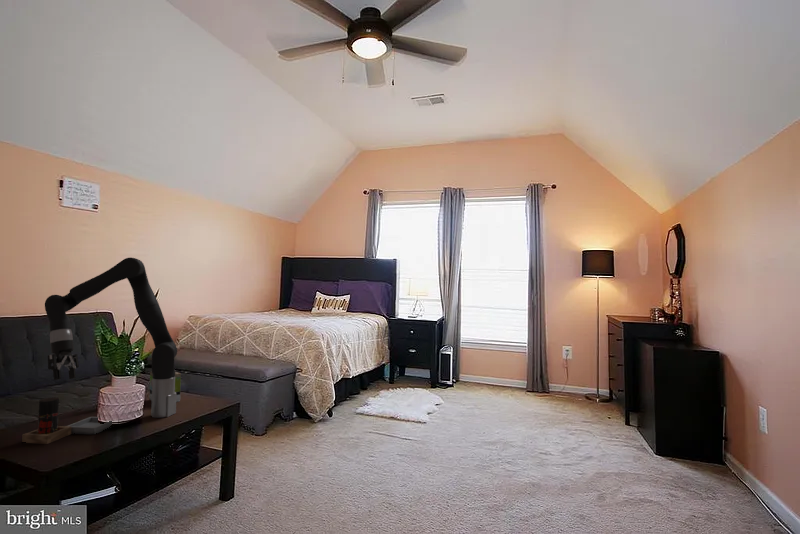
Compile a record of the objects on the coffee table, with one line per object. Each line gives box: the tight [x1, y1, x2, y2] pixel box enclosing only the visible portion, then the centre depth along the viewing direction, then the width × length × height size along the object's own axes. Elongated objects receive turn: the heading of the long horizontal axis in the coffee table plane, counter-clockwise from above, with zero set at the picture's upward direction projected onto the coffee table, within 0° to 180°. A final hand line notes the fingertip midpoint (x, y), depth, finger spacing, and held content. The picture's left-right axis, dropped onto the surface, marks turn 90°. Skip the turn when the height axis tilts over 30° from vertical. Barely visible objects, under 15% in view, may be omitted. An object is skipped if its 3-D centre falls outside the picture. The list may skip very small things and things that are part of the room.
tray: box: [67, 416, 112, 435], centre depth 176 cm, size 13×13×2 cm
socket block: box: [21, 425, 72, 445], centre depth 164 cm, size 10×10×3 cm
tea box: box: [148, 371, 182, 403], centre depth 218 cm, size 15×10×15 cm, turn 50°
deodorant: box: [37, 396, 60, 434], centre depth 164 cm, size 6×6×15 cm
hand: (65, 379), depth 176 cm, fingers open, 8 cm apart
